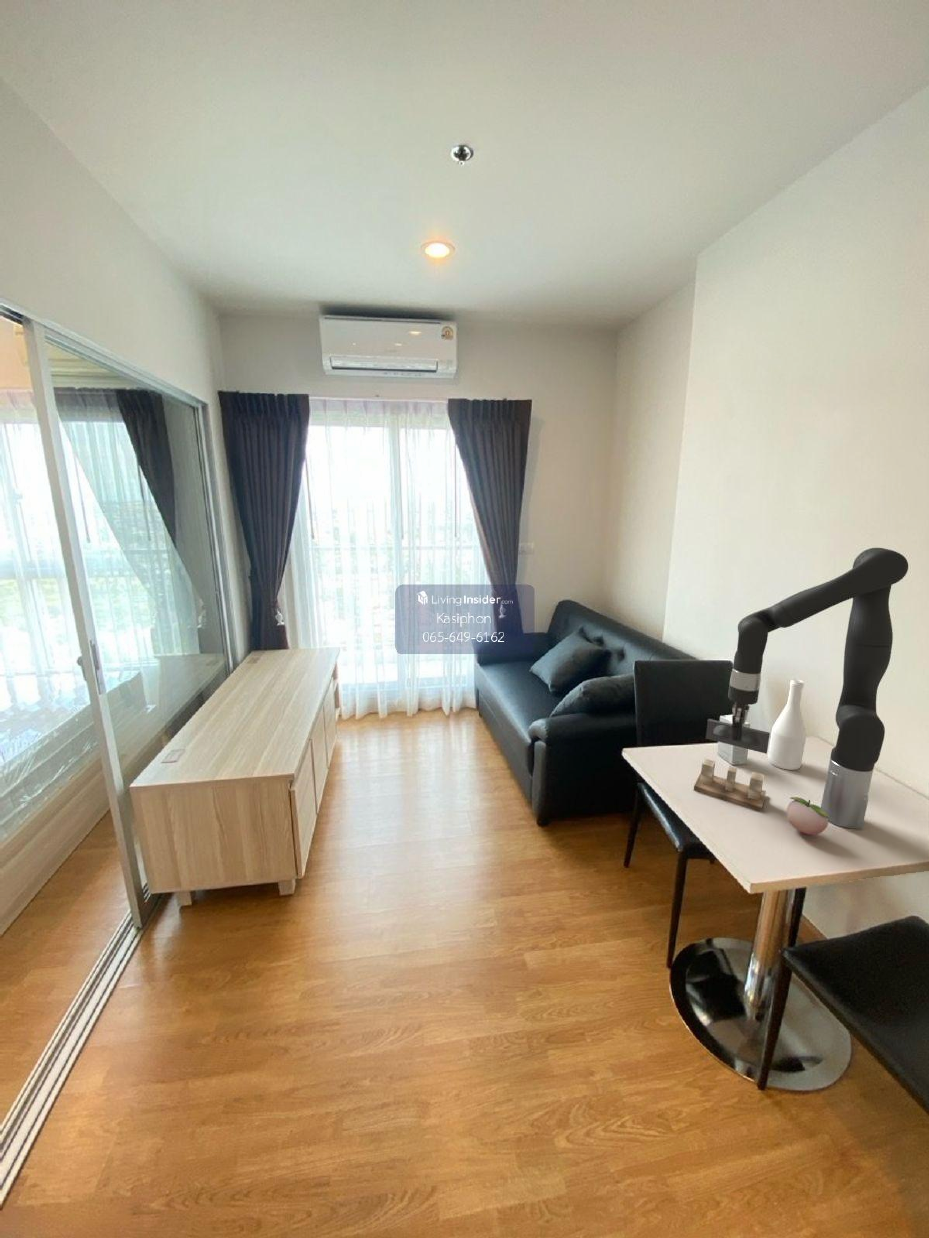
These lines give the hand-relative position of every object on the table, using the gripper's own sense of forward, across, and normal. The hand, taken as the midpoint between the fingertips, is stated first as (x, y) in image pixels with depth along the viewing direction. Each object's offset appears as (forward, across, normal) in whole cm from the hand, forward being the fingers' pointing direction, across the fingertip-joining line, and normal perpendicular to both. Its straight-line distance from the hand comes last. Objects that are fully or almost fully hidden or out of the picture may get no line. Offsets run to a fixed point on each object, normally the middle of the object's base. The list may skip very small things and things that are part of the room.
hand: (736, 739), depth 141 cm
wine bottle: (+18, +30, -12) cm, 37 cm away
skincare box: (+18, +23, +3) cm, 29 cm away
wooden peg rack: (+18, 0, 0) cm, 18 cm away
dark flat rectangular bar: (+2, 0, 0) cm, 2 cm away
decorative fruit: (+18, -9, -19) cm, 28 cm away
